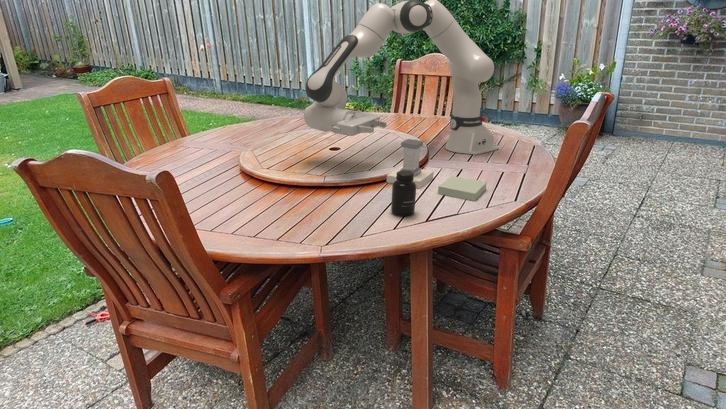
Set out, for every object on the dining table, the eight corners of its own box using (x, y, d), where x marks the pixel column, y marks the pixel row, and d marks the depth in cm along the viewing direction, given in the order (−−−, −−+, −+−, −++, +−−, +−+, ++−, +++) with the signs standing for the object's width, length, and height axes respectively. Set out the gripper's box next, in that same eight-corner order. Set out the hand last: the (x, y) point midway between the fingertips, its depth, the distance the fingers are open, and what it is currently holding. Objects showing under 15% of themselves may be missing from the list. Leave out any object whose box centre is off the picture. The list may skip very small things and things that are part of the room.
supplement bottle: (407, 219, 137) (410, 178, 133) (386, 213, 140) (388, 174, 136) (418, 211, 143) (421, 172, 138) (398, 205, 146) (399, 167, 141)
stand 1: (401, 172, 175) (402, 165, 174) (433, 178, 169) (433, 171, 168) (386, 182, 165) (386, 175, 164) (419, 188, 159) (419, 181, 159)
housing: (406, 169, 170) (408, 138, 165) (421, 172, 167) (423, 141, 163) (399, 174, 165) (401, 142, 161) (414, 177, 163) (416, 144, 158)
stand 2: (451, 182, 165) (451, 175, 164) (485, 189, 160) (486, 182, 159) (437, 193, 156) (438, 186, 155) (474, 201, 150) (475, 193, 149)
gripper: (328, 118, 163) (364, 124, 156) (359, 108, 179) (393, 113, 173) (328, 137, 165) (364, 143, 159) (358, 125, 182) (392, 131, 175)
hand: (379, 127), depth 166 cm, fingers open, 8 cm apart
